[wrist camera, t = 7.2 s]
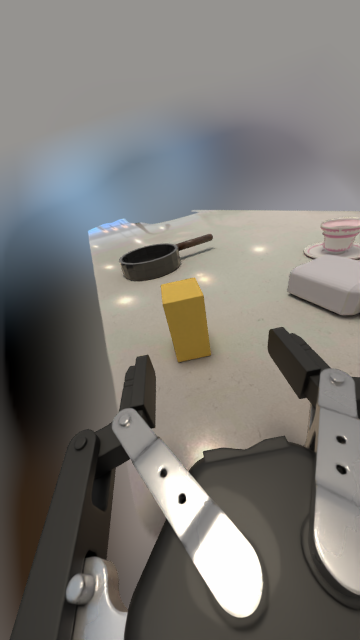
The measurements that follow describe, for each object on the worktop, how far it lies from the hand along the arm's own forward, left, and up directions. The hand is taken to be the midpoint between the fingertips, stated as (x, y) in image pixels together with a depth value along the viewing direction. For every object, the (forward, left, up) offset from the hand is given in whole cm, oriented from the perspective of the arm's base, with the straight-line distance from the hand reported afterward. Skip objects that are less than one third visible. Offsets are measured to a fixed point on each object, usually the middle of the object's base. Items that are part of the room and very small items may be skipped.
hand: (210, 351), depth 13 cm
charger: (+27, +5, -10) cm, 29 cm away
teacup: (+44, +19, -10) cm, 49 cm away
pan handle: (+23, +47, -7) cm, 53 cm away
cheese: (+3, +11, -10) cm, 15 cm away
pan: (+9, +47, -10) cm, 49 cm away
